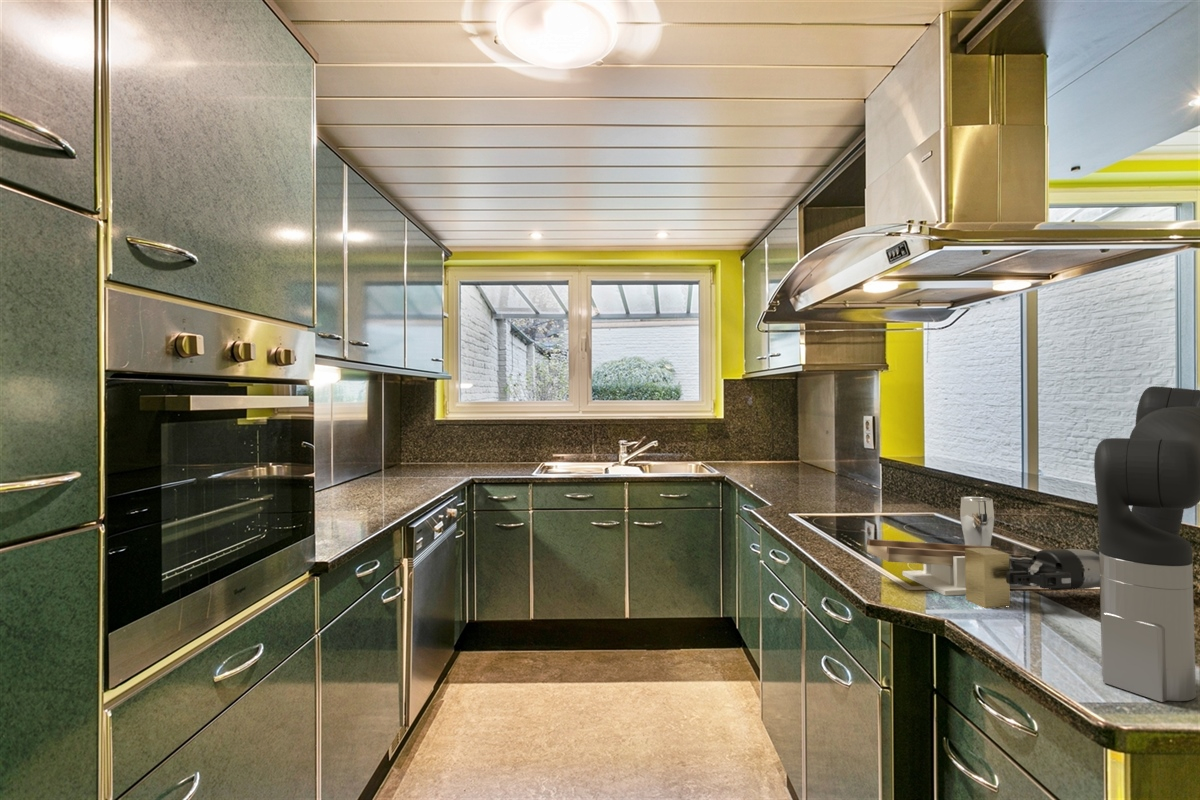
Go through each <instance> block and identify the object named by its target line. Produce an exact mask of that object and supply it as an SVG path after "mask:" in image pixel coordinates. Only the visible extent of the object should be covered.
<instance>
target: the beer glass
mask: <svg viewBox="0 0 1200 800" xmlns="http://www.w3.org/2000/svg"><path fill="white" fill-rule="evenodd" d="M959 510H960V511H959V513H960V514H959V515H960V516H959V517H960V524H961V529H962V530H961V531H962V533H963V538H964V545H975V546H991V544H992V537H993V531H994V524H995V510H994V501H993V498H991V497H990V498H989V497H982V496H971V495H970V496H969V495H968V496H961V497H960V508H959ZM991 547H992V546H991Z"/></svg>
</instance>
